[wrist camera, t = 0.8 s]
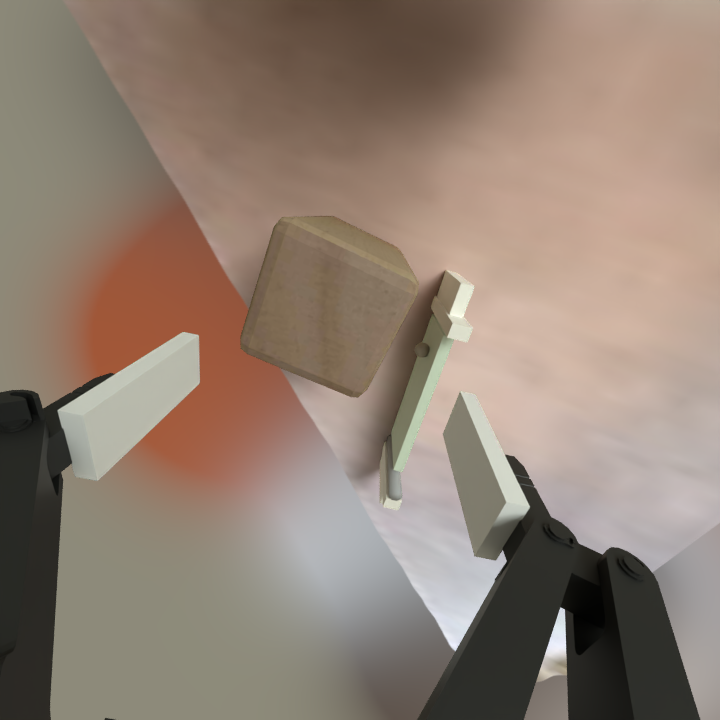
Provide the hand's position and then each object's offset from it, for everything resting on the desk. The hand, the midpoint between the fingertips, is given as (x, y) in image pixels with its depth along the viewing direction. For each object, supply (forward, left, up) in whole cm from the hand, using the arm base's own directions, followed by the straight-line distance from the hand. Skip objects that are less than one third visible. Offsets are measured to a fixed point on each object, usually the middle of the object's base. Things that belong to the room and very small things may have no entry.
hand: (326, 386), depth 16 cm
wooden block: (-1, -1, -26) cm, 26 cm away
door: (+11, +10, -26) cm, 30 cm away
